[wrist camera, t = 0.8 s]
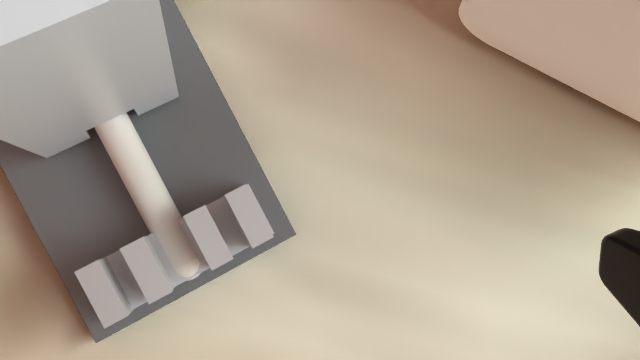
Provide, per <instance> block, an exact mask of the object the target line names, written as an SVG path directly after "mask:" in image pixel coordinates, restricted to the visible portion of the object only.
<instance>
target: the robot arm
mask: <svg viewBox="0 0 640 360" xmlns="http://www.w3.org/2000/svg"><path fill="white" fill-rule="evenodd" d="M599 275H600V278H601V280H602V282H603V283H604V285H605V286H606V287H607V289H608V290H609V291H610V292H611V293H612V294H613V296H614V297H615V298H616V299H617V300H618V301H619V303H620V304H621V305H622V306H623V307H624V309H625V310H626V311H627V312H628V313H629V314H630V316H631V317H632V318H633V319H634V320H635V321H636V323H637V324H638V325H639V326H640V231H637V230H633V229H629V228H623V229H620V230H617V231H615V232H613V233H611V234H609V235H607V236H605V237H604V238H603V240H602V243H601V251H600V261H599Z"/></svg>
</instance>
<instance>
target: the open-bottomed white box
mask: <svg viewBox="0 0 640 360" xmlns="http://www.w3.org/2000/svg"><path fill="white" fill-rule="evenodd" d="M177 97H179V94H178V89H177V84H176V79H175V74H174V70H173V65H172V60H171V55H170V50H169V45H168V40H167V36H166V31H165V26H164V21H163V16H162V11H161V7H160V2H159V0H0V140H2V141H5V142H7V143H10V144H12V145H15V146H17V147H20V148H22V149H25V150H28V151H30V152H33V153H35V154H38V155H40V156H43V157H45V158H48V157H51V156H53V155H55V154H57V153H59V152H61V151H63V150H66V149H68V148H70V147H72V146H74V145H76V144H78V143H81V142H83V141H85V140H87V139H89V138H90V136H89V134H88V132H87V130H89V129H91V128H93V127H95V126H98V125H100V124H102V123H104V122H106V121H108V120H111V119H113V118H115V117H117V116H119V115H121V114H124V113H126V112H128V111H130V110H132V109H134V110H135V111H136V113H137V115H138V116H139V115H141V114H143V113H145V112H147V111H149V110H151V109H154V108H156V107H158V106H160V105H162V104H164V103H166V102H169V101H171V100H173V99H175V98H177Z"/></svg>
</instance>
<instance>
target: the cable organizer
mask: <svg viewBox="0 0 640 360" xmlns="http://www.w3.org/2000/svg"><path fill="white" fill-rule="evenodd" d="M458 12H459V17H460V20H461V22H462V23H463V25H464V26H465V27H466V28H467V29H468V30H469V31H470V32H471V33H472V34H473V35H475V36H476V37H477V38H479V39H480V40H482V41H483V42H485V43H487V44H488V45H490V46H492V47H494V48H496V49H498V50H500V51H502V52H504V53H506V54H508V55H510V56H512V57H514V58H516V59H518V60H519V61H521V62H523V63H525V64H527V65H529V66H531V67H533V68H535V69H537V70H539V71H541V72H543V73H545V74H547V75H549V76H551V77H553V78H555V79H557V80H559V81H560V82H562V83H564V84H566V85H568V86H570V87H572V88H574V89H576V90H578V91H580V92H582V93H584V94H586V95H588V96H590V97H592V98H594V99H596V100H598V101H600V102H601V103H603V104H605V105H607V106H609V107H611V108H613V109H615V110H617V111H619V112H621V113H623V114H625V115H627V116H629V117H631V118H633V119H635V120H637V121H639V122H640V0H462V2H461V4H460V7H459V10H458Z"/></svg>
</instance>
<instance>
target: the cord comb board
mask: <svg viewBox="0 0 640 360" xmlns="http://www.w3.org/2000/svg"><path fill="white" fill-rule="evenodd" d="M159 2H160V7H161V11H162V16H163V21H164V26H165V31H166V36H167V40H168V45H169V50H170V55H171V60H172V65H173V70H174V74H175V79H176V84H177V89H178V94H179V97H177V98H175V99H173V100H171V101H169V102H166V103H164V104H162V105H160V106H158V107H156V108H154V109H151V110H149V111H147V112H145V113H143V114H141V115H139V116H138V115H137V113H136V111H135V110H134V109H132V110H130V111H128V112H126V113H124V114H121V115H119V116H117V117H115V118H113V119H111V120H108V121H106V122H104V123H102V124H100V125H98V126H95V127H93V128H91V129H89V130H87V132H88V134H89V136H90V138H89V139H87V140H85V141H83V142H81V143H78V144H76V145H74V146H72V147H70V148H68V149H66V150H63V151H61V152H59V153H57V154H55V155H53V156H51V157H48V158H45V157H43V156H40V155H38V154H35V153H33V152H30V151H28V150H25V149H22V148H20V147H17V146H15V145H12V144H10V143H7V142H5V141H2V140H0V166H1V168H2V169H3V171H4V173H5V175H6V177H7V179H8V181H9V182H10V184H11V186H12V188H13V190H14V192H15V194H16V195H17V197H18V199H19V201H20V203H21V205H22V207H23V208H24V210H25V212H26V214H27V216H28V218H29V220H30V221H31V223H32V225H33V227H34V229H35V231H36V233H37V235H38V236H39V238H40V240H41V242H42V244H43V246H44V248H45V249H46V251H47V253H48V255H49V257H50V259H51V261H52V262H53V264H54V266H55V268H56V270H57V272H58V274H59V275H60V277H61V279H62V281H63V283H64V285H65V287H66V288H67V290H68V292H69V294H70V296H71V298H72V300H73V302H74V303H75V305H76V307H77V309H78V311H79V313H80V315H81V316H82V318H83V320H84V322H85V324H86V326H87V328H88V329H89V331H90V333H91V335H92V337H93V339H94V341H95V342H96V343H97V342H99V341H101V340H103V339H105V338H106V337H108V336H110V335H112V334H114V333H116V332H117V331H119V330H121V329H123V328H125V327H127V326H129V325H130V324H132V323H134V322H136V321H138V320H140V319H141V318H143V317H145V316H147V315H149V314H151V313H152V312H154V311H156V310H158V309H160V308H162V307H163V306H165V305H167V304H169V303H171V302H173V301H174V300H176V299H178V298H180V297H182V296H184V295H185V294H187V293H189V292H191V291H193V290H195V289H196V288H198V287H200V286H202V285H204V284H206V283H208V282H209V281H211V280H213V279H215V278H217V277H219V276H220V275H222V274H224V273H226V272H228V271H230V270H231V269H233V268H235V267H237V266H239V265H241V264H242V263H244V262H246V261H248V260H250V259H252V258H253V257H255V256H257V255H259V254H261V253H263V252H264V251H266V250H268V249H270V248H272V247H274V246H275V245H277V244H279V243H281V242H283V241H285V240H287V239H288V238H290V237H292V236H294V235H296V233H295V231H294V230H293V228H292V226H291V224H290V222H289V220H288V218H287V216H286V214H285V212H284V210H283V208H282V207H281V205H280V203H279V201H278V199H277V197H276V195H275V193H274V191H273V189H272V187H271V186H270V184H269V182H268V180H267V178H266V176H265V174H264V172H263V170H262V168H261V166H260V164H259V163H258V161H257V159H256V157H255V155H254V153H253V151H252V149H251V147H250V145H249V143H248V141H247V140H246V138H245V136H244V134H243V132H242V130H241V128H240V126H239V124H238V122H237V120H236V119H235V117H234V115H233V113H232V111H231V109H230V107H229V105H228V103H227V101H226V99H225V97H224V96H223V94H222V92H221V90H220V88H219V86H218V84H217V82H216V80H215V78H214V76H213V74H212V73H211V71H210V69H209V67H208V65H207V63H206V61H205V59H204V57H203V55H202V53H201V52H200V50H199V48H198V46H197V44H196V42H195V40H194V38H193V36H192V34H191V32H190V30H189V29H188V27H187V25H186V23H185V21H184V19H183V17H182V15H181V13H180V11H179V9H178V7H177V6H176V4H175V2H174V0H159Z"/></svg>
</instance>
